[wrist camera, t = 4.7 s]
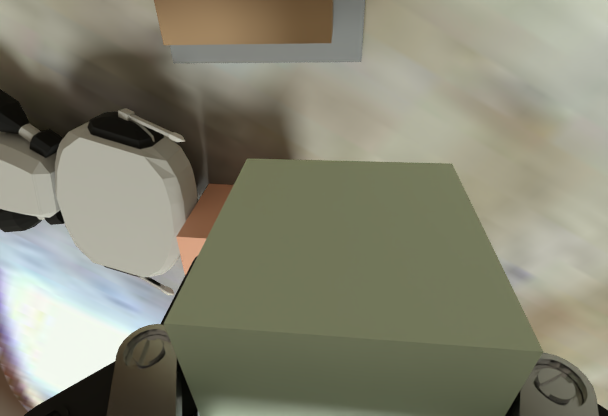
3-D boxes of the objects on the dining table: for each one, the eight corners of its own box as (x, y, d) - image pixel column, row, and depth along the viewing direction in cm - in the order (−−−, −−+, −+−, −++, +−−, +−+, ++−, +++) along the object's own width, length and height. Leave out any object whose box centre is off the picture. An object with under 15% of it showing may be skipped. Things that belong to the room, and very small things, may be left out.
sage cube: (247, 158, 11) (163, 323, 6) (451, 163, 10) (543, 351, 5) (264, 293, 14) (220, 468, 9) (418, 303, 14) (456, 495, 9)
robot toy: (19, 208, 28) (201, 263, 28) (-35, 243, 25) (175, 306, 25) (-20, 45, 22) (219, 117, 22) (-102, 58, 18) (187, 145, 18)
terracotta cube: (209, 183, 25) (176, 236, 20) (296, 187, 24) (285, 243, 19) (219, 250, 28) (193, 311, 23) (296, 255, 28) (287, 317, 22)
